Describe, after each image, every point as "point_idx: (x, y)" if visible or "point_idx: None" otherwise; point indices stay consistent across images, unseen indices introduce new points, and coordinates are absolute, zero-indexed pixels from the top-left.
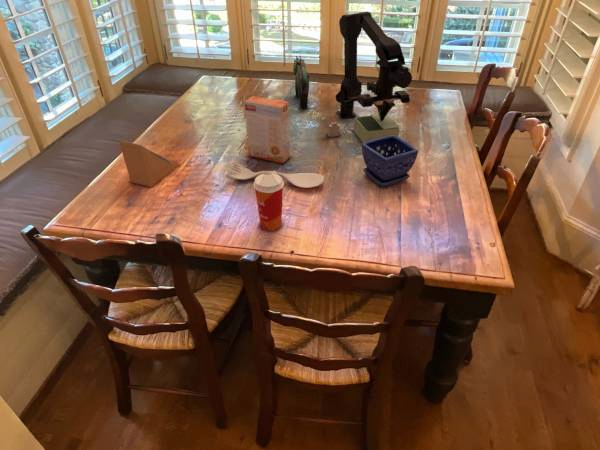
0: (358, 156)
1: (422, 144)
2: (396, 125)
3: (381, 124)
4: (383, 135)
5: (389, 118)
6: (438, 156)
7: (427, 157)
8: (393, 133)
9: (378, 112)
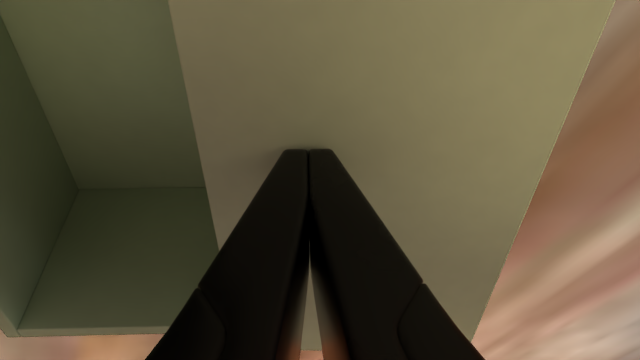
0: None
1: (616, 240)
2: None
3: None
4: None
5: (520, 126)
6: (565, 355)
7: (492, 355)
8: None
9: (211, 271)
